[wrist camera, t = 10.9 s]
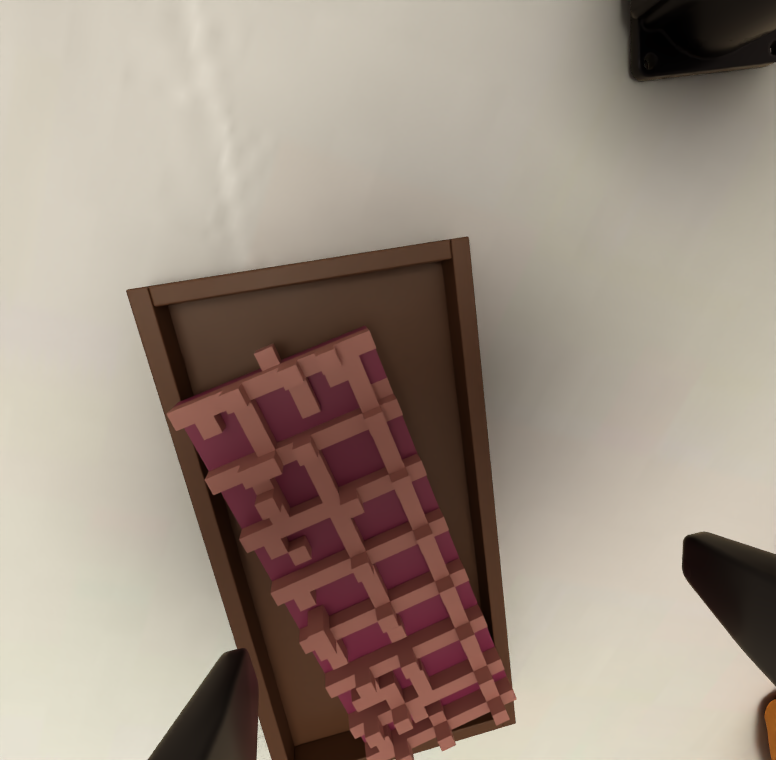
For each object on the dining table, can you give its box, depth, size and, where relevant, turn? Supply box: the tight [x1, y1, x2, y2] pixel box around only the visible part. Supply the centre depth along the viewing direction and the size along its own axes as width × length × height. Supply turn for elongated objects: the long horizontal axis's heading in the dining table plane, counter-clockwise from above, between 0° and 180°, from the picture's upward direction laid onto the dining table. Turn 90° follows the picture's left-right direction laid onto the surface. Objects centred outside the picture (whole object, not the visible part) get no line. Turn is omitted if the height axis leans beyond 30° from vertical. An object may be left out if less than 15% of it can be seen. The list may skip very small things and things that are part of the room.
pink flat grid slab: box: [166, 326, 516, 760], centre depth 17 cm, size 7×19×2 cm, turn 21°
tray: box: [126, 237, 516, 760], centre depth 19 cm, size 12×24×2 cm, turn 9°
